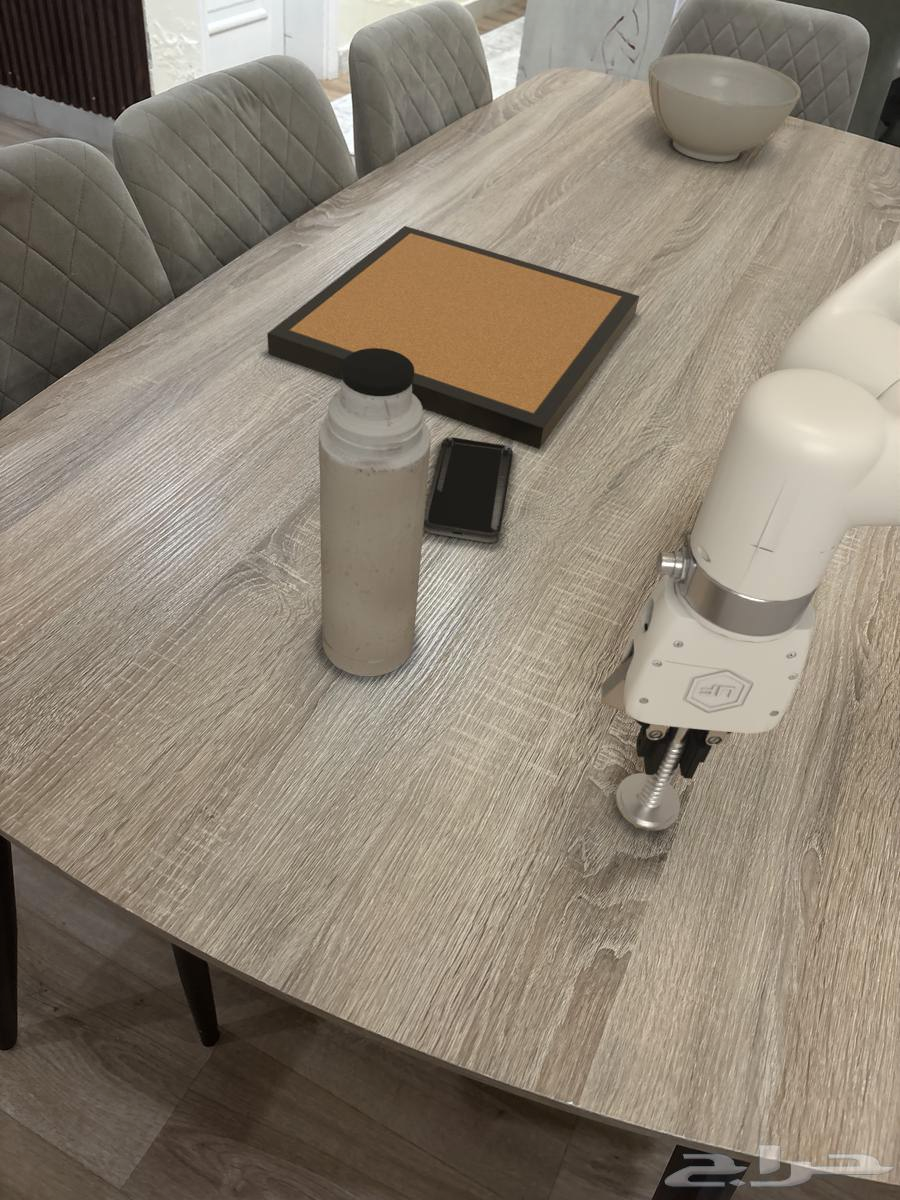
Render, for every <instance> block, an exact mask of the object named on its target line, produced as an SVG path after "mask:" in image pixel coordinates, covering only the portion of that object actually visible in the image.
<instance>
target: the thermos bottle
mask: <svg viewBox="0 0 900 1200" xmlns="http://www.w3.org/2000/svg"><path fill="white" fill-rule="evenodd" d="M341 377H342V379H341V382H340V389H338V391H336V392H335V393H334V394H333V395H332V396H331V398H330V399H329V403H328V409H327V411H326V414H325V418H324V420H323V421H322V423H321V424H320V427H319V430H318V461H319V462H318V463H319V531H320V532H319V533H320V578H321V579H320V583H321V585H320V586H321V587H320V588H321V591H320V592H321V630H322V631H321V635H322V637H321V638H322V639H321V641H322V647H323V652H324V653H325V656H326V657H327V659H329V661H330V662H331V663H332V664H333V665H334V666H335V667H336V668H338V669H340V670H342V671H343V672H345V673H348V674H350V675H351V674H352V675H354V676H361V677H377V676H384V675H385V674H389V673H391V672H393V671H396V670H398V669H399V668H400V667H402V666H403V665H405V663H406V661H407V660H408V659H409V658H410V657H411V654H412V652H413V647H414V641H415V630H416V629H415V628H416V618H417V606H418V593H419V584H420V572H421V559H422V549H423V548H422V547H423V537H424V536H423V535H424V530H423V526H424V514H425V507H426V504H427V491H428V477H429V467H430V457H431V455H430V454H431V443H432V442H431V432H430V429H429V428H428V425H427V424H426V423H425V421H426V419H425V417H426V416H425V412H424V408H422V405H421V402H420V401H419V400H418V398H417V397H416V396H415V395H414V394H413V393H412V383H413V380H414V366H413V364H412V362H411V361H410V360H409V359H408V358H407V357H405V356H404V355H402V354H400V353H398V352H395V351H392V350H388V349H381V348H369V349H362V350H359V351H355V352H353V353H351V354H349V355H348V356H347V357H346V358H345V359H344V360H343V362H342V364H341Z"/></svg>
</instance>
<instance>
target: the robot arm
mask: <svg viewBox="0 0 900 1200" xmlns="http://www.w3.org/2000/svg"><path fill="white" fill-rule="evenodd" d="M701 502H702V505H701V504H700V505H701V508H700V507H699V508H700V511H699V513H698V512H697V513H698V516H697V515H696V516H697V519H696V518H695V519H696V522H695V524H694V523H693V524H694V527H693V526H692V527H693V530H692V529H691V530H692V533H691V535H690V534H686V536H685V539H684V541H683V544H682V546H680V548H679V549H677V550H672V551H671V552H669V551H659V552H658V555H657V559H656V565H655V567H656V575H662V577H661V579H660V580H659V581H658V583H657V584H656V586H655V587H654V589H653V590H652V592H651V593H650V595H649V597H648V598H647V600H646V602H645V603H644V605H643V607H642V609H641V611H640V613H639V615H638V617H637V620H636V622H635V623H634V625H633V628H632V630H631V633H630V634H629V637H628V640H627V641H626V644H625V646H624V649H623V653H622V656H621V657H622V658H621V664H620V666H618V668H617V669H616V670H614V671H613V672H612V673H611V674H610V675H609V676H608V677H607V678H606V679H605V680H604V681H603V682H602V683H601V684H600V698H601V702H602V704H604V705H606V706H608V707H611V708H614V709H616V710H619V711H621V712H625V713H626V715H627V716H628V717H630V718H631V719H632V720H634V721H635V722H636V723H637V724H638V725H640V729H639V732H638V734H637V737H636V740H635V741H636V743H635V744H636V745H635V749H636V756H637V757H639V758H643V764H644V773H645V774H646V775H654V774H657V771H658V769H659V767H660V765H661V762H662V760H663V758H664V755H665V753H666V751H667V748H668V746H669V738H668V726H672V727H682V728H690V730H689V732H688V742H687V747H686V749H685V751H684V753H683V755H682V758H681V759H680V762H679V764H678V766H679V771H680V776H681V777H683V779H686V780H687V779H688V780H692V779H693V778H694V775H695V773H696V771H697V769H698V767H699V765H700V763H702V764H703V763H705V761H706V760H707V757H708V756H709V753H710V751H711V749H712V747H715V746H720V745H721V744H723V742H725V739H726V737H727V736H728V735H730V734H733V733H738V734H739V733H740V734H760V733H766V732H769V731H771V730H774V728H775V727H777V726H778V725H779V723H780V722H781V721H782V719H783V718H784V717H785V714H786V712H787V710H788V708H789V705H790V704H791V702H792V699H793V697H794V694H795V693H796V690H797V688H798V685H799V682H800V680H801V677H802V674H803V671H804V668H805V666H806V662H807V659H808V656H809V652H810V649H811V645H812V641H813V637H814V632H815V628H816V621H817V612H816V609H815V607H814V604H813V602H812V599H813V598H814V595H815V593H816V591H817V589H818V588H819V586H820V583H821V581H822V579H823V577H824V576H825V574H826V572H827V570H828V569H829V566H830V564H831V562H832V561H833V558H834V556H835V555H836V552H837V551H838V549H839V546H840V545H841V542H842V541H843V539H844V537H845V536H846V534H847V532H848V531H850V530H851V529H853V528H856V527H857V528H858V527H900V238H899V239H897V240H896V241H894V242H892V243H891V244H890V245H888V246H887V247H886V248H884V249H883V250H881V251H880V252H879V253H877V254H876V255H875V256H874V257H873V258H872V259H870V260H869V261H868V262H867V263H866V264H864V265H863V266H862V267H861V268H859V270H857V271H856V272H855V273H854V274H853V275H851V277H849V278H848V279H847V280H845V282H844V283H842V284H841V285H840V286H839V287H838V288H836V289H835V290H834V291H833V292H832V293H831V294H829V296H827V297H826V298H825V299H824V300H823V301H822V302H821V303H819V304H818V305H817V306H816V307H815V308H814V309H813V310H812V311H811V312H810V313H809V314H808V315H807V316H806V317H805V319H804V320H803V321H802V322H801V323H800V324H799V325H798V326H796V328H795V330H793V332H792V333H791V335H790V336H789V337H788V339H787V340H786V342H785V343H784V344H783V346H782V348H781V350H780V352H779V354H778V355H777V357H776V359H775V362H774V366H773V369H772V371H771V372H769V373H766V374H764V375H763V376H761V377H759V378H758V379H756V380H755V381H754V382H752V383H751V384H750V386H748V388H747V389H746V391H744V393H743V395H742V396H741V397H740V400H739V402H738V404H737V406H736V409H735V411H734V414H733V416H732V419H731V422H730V425H729V428H728V431H727V433H726V436H725V439H724V441H723V444H722V447H721V449H720V453H719V456H718V459H717V461H716V464H715V466H714V469H713V472H712V475H711V477H710V479H709V483H708V485H707V488H706V491H705V494H704V497H703V500H702V501H701Z"/></svg>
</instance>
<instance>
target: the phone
mask: <svg viewBox="0 0 900 1200" xmlns="http://www.w3.org/2000/svg"><path fill="white" fill-rule="evenodd" d="M513 455H514V451H513V448H512V447H509V446H507V445H504V444H497V443H491V442H486V441H485V442H484V441H478V440H472V439H468V438H467V439H466V438H460V437H453V436H449V437H446V438H444V439H443V440H442V442H441V445H440V449H439V452H438V455H437V458H436V459H437V460H436V463H435V467H434V473H433V476H432V480H431V485H430V488H429V492H428V496H427V499H426V503H425V514H424V526H423V532H425V533H427V534H430V535H433V536H439V537H446V538H452V539H458V540H463V541H464V540H465V541H471V542H478V543H482V544H494V543H496V542H498V540H499V539H500V535H501V529H502V522H503V518H504V510H505V504H506V498H507V491H508V486H509V480H510V474H511V468H512V461H513Z"/></svg>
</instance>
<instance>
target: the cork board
mask: <svg viewBox="0 0 900 1200" xmlns="http://www.w3.org/2000/svg"><path fill="white" fill-rule="evenodd" d="M639 299H640V295H638V294H634V293H630V292H628V291H624V290H621V289H617V288H614V287H611V286H608V285H604V284H601V283H597V282H595V281H591V280H588V279H584V278H581V277H578V276H574V275H570V274H568V273H564V272H560V271H557V270H554V269H550V268H548V267H544V266H540V265H537V264H534V263H530V262H527V261H523V260H520V259H517V258H513V257H511V256H508V255H503V254H500V253H497V252H493V251H491V250H487V249H483V248H480V247H477V246H473V245H470V244H467V243H463V242H460V241H458V240H454V239H450V238H446V237H443V236H440V235H437V234H433V233H431V232H426V231H423V230H420V229H417V228H413V227H409V226H406V225H404V226H403V227H401V228H400V229H399V230H397V231H396V232H395V233H394V234H393V235H391V236H389V238H387V239H385V241H383V242H382V243H381V244H379V245H378V246H377V247H376V248H374V249H373V250H372V251H371V252H370V253H368V254H367V255H366V256H364V257H363V258H362V259H361V260H359V261H358V262H357V263H355V264H354V265H353V266H352V267H350V268H349V269H348V270H346V271H344V273H342V275H340V276H339V277H337V278H336V279H335V280H334V281H332V282H330V284H329V285H328V286H326V287H325V288H324V289H322V290H321V291H319V292H318V293H317V294H316V295H314V296H313V297H312V298H310V299H309V300H308V301H306V302H305V303H304V304H303V305H302V306H300V307H299V308H298V309H297V310H295V311H294V312H293V313H292V314H290V315H289V316H288V317H286V318H285V319H284V320H282V321H281V322H279V323H278V324H277V325H276V326H275V327H274V328H272V329H271V330H270V331H269V332H267V334H266V335H267V349H268V351H267V352H268V355H271V356H274V357H276V358H279V359H282V360H285V361H288V362H291V363H293V364H296V365H299V366H301V367H304V368H308V369H311V370H313V371H316V372H319V373H321V374H324V375H328V376H330V377H333V378H337V379H339V380H342V377H341V364H342V362H343V360H344V359H345V358H346V357H347V356H348V355H349V354H351V353H353V352H355V351H359V350H362V349H369V348H381V349H388V350H392V351H395V352H398V353H400V354H402V355H404V356H405V357H407V358H408V359H409V360H410V361H411V362H412V364H413V366H414V380H413V383H412V393H413V394H414V395H415V396H416V397H417V398H418V400H419V401H420V402H421V405H422V408H423V410H424V409H425V410H427V411H430V412H434V413H436V414H439V415H442V416H444V417H448V418H450V419H453V420H456V421H459V422H461V423H464V424H466V425H467V424H468V425H470V426H472V427H476V428H479V429H481V430H484V431H486V432H490V433H493V434H496V435H499V436H501V437H505V438H507V439H510V440H512V441H516V442H518V443H522V444H524V445H527V446H530V447H533V448H535V449H539V450H540V449H541V448H542V446H543V444H545V442H546V441H547V439H548V438H549V436H550V435H551V434H552V432H553V431H554V430H555V428H556V427H557V425H558V424H559V422H561V420H562V418H563V417H564V415H565V414H566V413H567V411H568V410H569V408H570V407H571V405H572V404H573V403H574V401H575V400H576V398H577V397H578V396H579V395H580V393H581V391H582V390H583V388H584V387H585V386H586V384H587V383H588V382H589V380H590V379H591V378H592V376H593V375H594V373H595V372H596V370H597V369H598V368H599V366H600V365H601V363H602V362H603V360H605V358H606V356H607V355H608V353H609V352H610V351H611V350H612V348H613V346H614V345H615V344H616V342H617V341H618V339H619V338H620V336H621V335H622V334H623V333H624V331H625V329H627V327H628V325H629V324H630V323H631V321H632V319H633V318H634V317H635V316H636V311H637V308H638V303H639Z"/></svg>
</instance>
